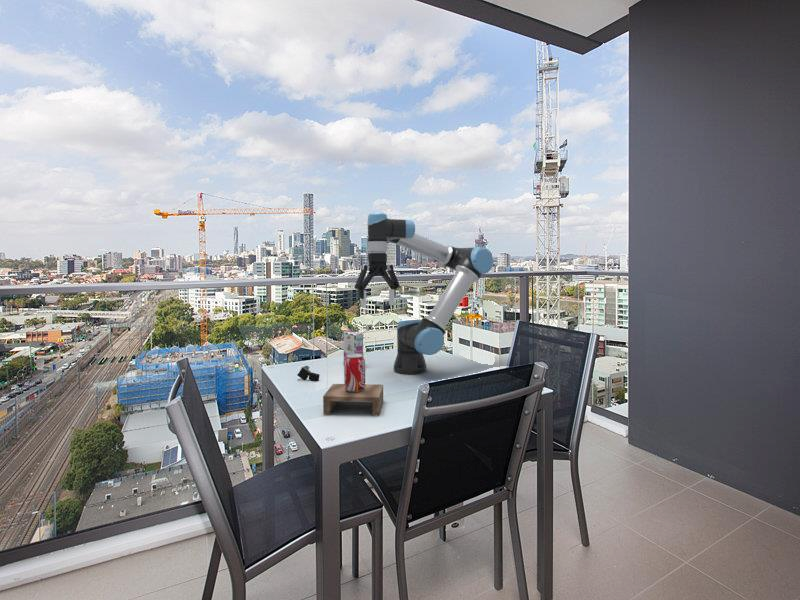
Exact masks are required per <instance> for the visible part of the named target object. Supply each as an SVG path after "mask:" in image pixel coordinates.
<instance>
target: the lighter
mask: <svg viewBox="0 0 800 600" xmlns="http://www.w3.org/2000/svg"><path fill="white" fill-rule="evenodd" d="M296 376H297V377H299V378H300V379H301V380H303V381H307V379H308V380H310V381H311V382H318V381H319V380H320V376H321V375H320V374H319V373H315V372H312V371H311V370H310V366H309V365H304V366H302V367H301V368H300V369H299V372H298V373H297V374H296Z"/></svg>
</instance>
